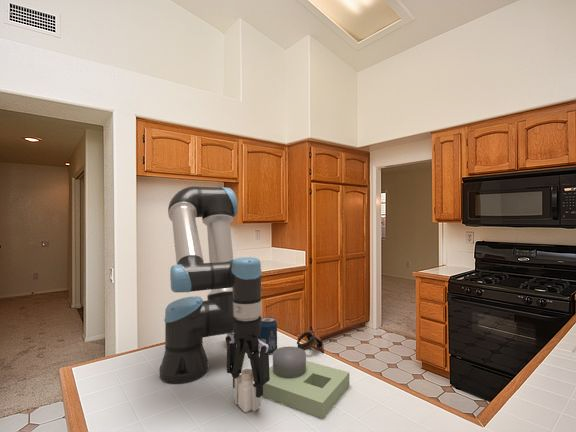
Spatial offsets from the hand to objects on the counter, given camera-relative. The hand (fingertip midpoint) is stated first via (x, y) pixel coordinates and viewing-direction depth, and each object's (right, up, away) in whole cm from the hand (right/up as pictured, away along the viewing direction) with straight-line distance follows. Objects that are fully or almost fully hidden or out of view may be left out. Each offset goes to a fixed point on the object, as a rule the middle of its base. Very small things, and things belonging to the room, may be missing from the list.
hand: (247, 404), depth 83 cm
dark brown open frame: (+19, -1, +35) cm, 40 cm away
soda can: (+3, -1, +35) cm, 35 cm away
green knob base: (+15, -1, +8) cm, 17 cm away
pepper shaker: (0, -1, 0) cm, 1 cm away
